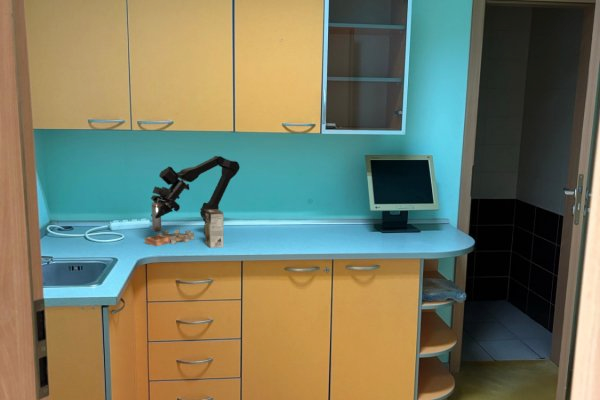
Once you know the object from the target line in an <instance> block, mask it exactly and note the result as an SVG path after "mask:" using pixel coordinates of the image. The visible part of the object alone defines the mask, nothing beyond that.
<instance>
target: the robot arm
mask: <svg viewBox="0 0 600 400" xmlns="http://www.w3.org/2000/svg"><path fill="white" fill-rule="evenodd" d="M217 166H219V167H220V168H221V176H220V178H219V179H218V183H217V185H216V186H215V188H214V190H213V193H212V194H211V197H210V199H209V201H208V202H203V204H202V206H201V208H200V209H199V210H200V213H199V214H200V217H201V218H202V220H203V222H205V210H208V209H218V210H219V208H220V207H219V205H220V202H221V200H222V198H223V196H224V194H225V192H226V189H227V187H228V185H229V183H230V182H231V179H232V178H234V177H235V176H236V175H237V174H238V172H239V170H240V163H239V162H238V161H236V160H230V159H227V158H224V157H222V156H219V155H215V156H213V157H211V158H209V159H208V160H205V161H204V162H203V161H202V162H201V163H199V164H197V165H196V166H191V167H186V168H183V169H181V170H179V172H176V171H175V170H174V168H173V167H172V166H168V167H166V168H164V169H163V170H162V171H160V173H159V178H160V179H161V180H162V181H164V182H165V184H166V185H168V186H169V185H170V186H169V188H168V187H165V186H162V187H159V186H154V188H153V190H152V193H153V195H152V196H151V197H150V200H152V202H153V203H154V202H159V203H161V208H160V210H159V211H158V213H157V215H156V216H155V218H159V217H161V218H162V217H163V216H165V215H167V214H169V213H172V212H173V210H174V211H175V212H179V211H180V208H181V207H180V204H179V203H177V201H176V200H177V199H178V200H179V199H180V198H181V197H180V195H181V194H182V193H183V191H185V190H186V191H189V190H190V184H188V183H193V182H194V181H196V180H197V179H198V178H199V177H200V175H202V174H204V173H206V172H208V171H209V170H212V169H213V168H215V167H217ZM186 182H187V183H186ZM150 216H151V217H152V213H151V215H150ZM203 226H204V227H203V228H204V234H203V235H204V236H205V224H204V225H203Z"/></svg>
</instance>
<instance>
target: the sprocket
mask: <svg viewBox="0 0 600 400" xmlns="http://www.w3.org/2000/svg"><path fill="white" fill-rule="evenodd" d="M169 232H170V231H169V230H162V232H156V235H154V236H153V235H152V236H148V237H144V243H145V244H146V245H151V246H154V247H157V246H162V244H163V245H166V244H167V243H168V244H171V243H172V244H177V243H188V242H190V240H194V239H195V232H192V230H190V229H186V230H184V233H183V232H182V233H180V229H175V230H174V233H169Z"/></svg>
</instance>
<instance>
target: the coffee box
mask: <svg viewBox="0 0 600 400" xmlns="http://www.w3.org/2000/svg"><path fill="white" fill-rule="evenodd" d="M204 225H205V233H204V234H205V235H204V236H205V237H204V239H205V240H204V241H205V242H204V243H205V245H207V246H208V247H209V248H210V249H215V248H216V247H217V248H224V212H223V211H222V210H218V209H208V210H205V221H204Z"/></svg>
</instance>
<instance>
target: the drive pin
mask: <svg viewBox="0 0 600 400" xmlns="http://www.w3.org/2000/svg"><path fill="white" fill-rule="evenodd" d="M160 208H161V203H159V202H154V201H153V202H151V214H152V216H151V224H152V226H151V227H152V232H156V233H160V232H163V230H162V216H161V217H159V218H155V216H156V215H157V213H158V211H159V210H160Z"/></svg>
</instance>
